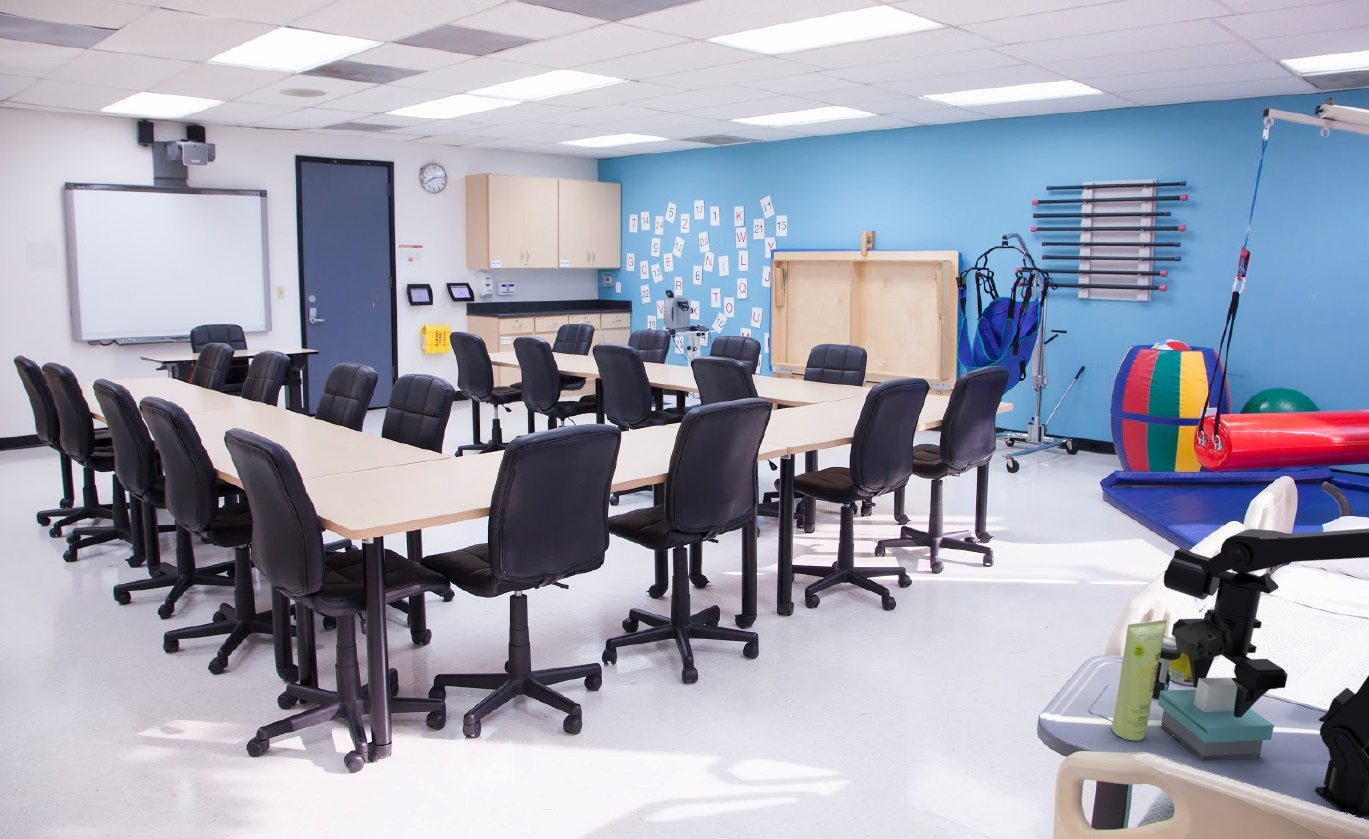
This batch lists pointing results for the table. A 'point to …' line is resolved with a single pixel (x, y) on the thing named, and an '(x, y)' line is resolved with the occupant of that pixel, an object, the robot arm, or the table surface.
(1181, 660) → the supplement bottle
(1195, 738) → the storage box
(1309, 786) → the table surface
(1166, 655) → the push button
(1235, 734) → the lid
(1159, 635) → the tube
